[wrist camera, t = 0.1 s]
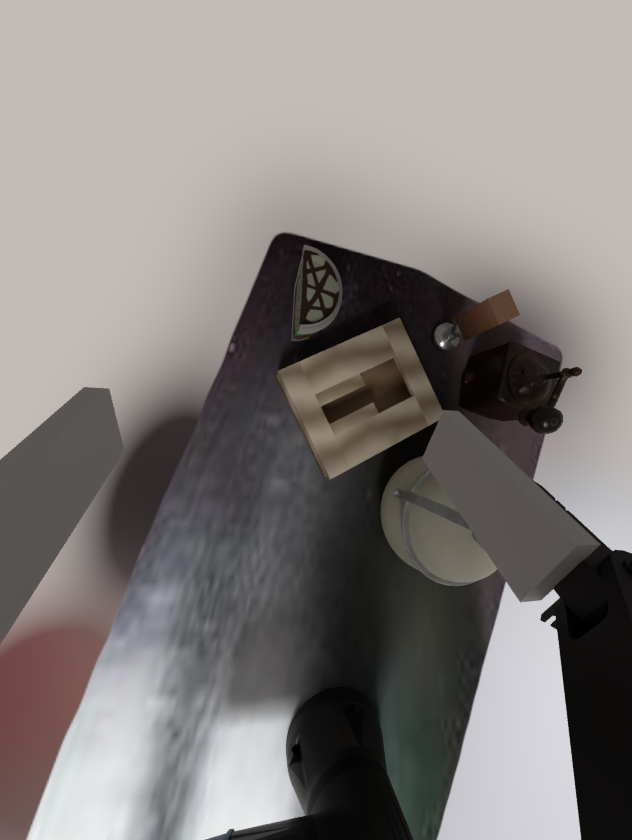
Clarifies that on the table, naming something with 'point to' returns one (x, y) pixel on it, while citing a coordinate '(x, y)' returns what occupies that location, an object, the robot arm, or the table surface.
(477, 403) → the manual coffee grinder
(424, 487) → the kettle
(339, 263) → the table surface
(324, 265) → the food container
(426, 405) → the keyhole plate
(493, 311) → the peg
